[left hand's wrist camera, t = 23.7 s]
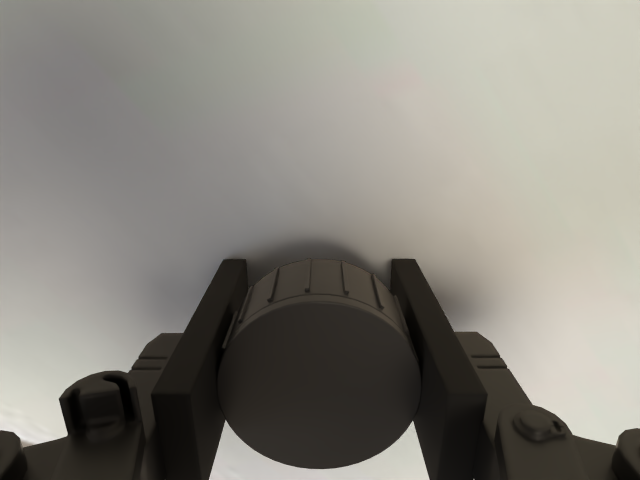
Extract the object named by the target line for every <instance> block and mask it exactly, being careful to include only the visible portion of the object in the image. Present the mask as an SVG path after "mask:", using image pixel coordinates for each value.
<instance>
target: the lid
mask: <svg viewBox="0 0 640 480" xmlns="http://www.w3.org/2000/svg"><path fill="white" fill-rule="evenodd" d="M221 351H223V355H222V358H221V361H220V364H219V368H218V372H217V393H218V400H219V405H220V408H221V410H222V413H223V415H224V417H225V419H226V421H227V422H228V424H229V426H230V427H231V428H232V430H233V431H234V432H235V433H236V435H237V436H238V437H239V438H240V439H241V440H242V441H243V442H244V443H246V444H247V445H248V446H250V447H251V448H252V449H254V450H255V451H257V452H259V453H260V454H262V455H264V456H266V457H268V458H270V459H272V460H274V461H277V462H280V463H283V464H286V465H291V466H295V467H300V468H308V469H330V468H339V467H344V466H349V465H353V464H356V463H359V462H362V461H364V460H367V459H369V458H371V457H373V456H375V455H377V454H379V453H381V452H382V451H384V450H385V449H387V448H388V447H390V446H391V445H392V444H393V443H394V442H395V441H397V440H398V439H399V438H400V437H401V435H402V434H403V433H404V432H405V431H406V430H407V428H408V427H409V425H410V424H411V422H412V421H413V418H414V416H415V414H416V412H417V410H418V406H419V403H420V399H421V390H422V376H421V371H420V366H419V363H418V361H419V360H418V357H417V355H416V352H415V349H414V346H413V343H412V341H411V338H410V335H409V330H408V327H407V324H406V321H405V318H404V315H403V313H402V310H401V307H400V304H399V301H398V298H397V296H396V295H395V296H393V295H392V294H391V292H390V291H389V290H388V288H387V287H386V286H385V285H384V284H383V283H382V282H381V281H380V280H378V279H377V278H376V275H375V274H370V273H368V272H367V271H365V270H363V269H361V268H359V267H357V266H354V265H352V264H348V263H346V262H345V261H343V260H342V261H336V260H329V259H311V258H308V259H307V260H303V261H298V262H293V263H290V264H288V265H285V266H282V267H280V268H278V267H276V268H274V271H272V272H270V273H269V274H268V275H266V276H265V277H263V278H262V279H261V280H260V281H258V282H257V283H256V284H255V285H254V286H250V287H249V290H248V292H247V295H246V297H245V298H244V300H243V302H242V304H241V306H240V308H239V311H235V313H234V316H233V319H232V321H231V324H230V327H229V329H228V332H227V335H226V337H225V340H224V343H223V345H222V348H221Z"/></svg>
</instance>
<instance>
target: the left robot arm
mask: <svg viewBox="0 0 640 480" xmlns="http://www.w3.org/2000/svg"><path fill="white" fill-rule="evenodd" d="M247 292H248V282H247V267H246V259H223V261H222V263H221V265H220V267H219V268H218V270H217V272H216V274H215V276H214V278H213V280H212V281H211V283H210V285H209V287H208V289H207V291H206V293H205V294H204V296H203V298H202V300H201V302H200V304H199V305H198V307H197V309H196V311H195V313H194V315H193V317H192V318H191V320H190V322H189V324H188V326H187V328H186V329H185V331H184V333H161V334H160V335H159V336H157V337H156V338H155V339H153V340H152V341H151V342H149V343H148V344H147V345H146V346H145V348H144V349H143V351H142V353H141V354H140V356H139V359H137V360H136V362H135V363H134V365H133V366H132V369H131V370H130V371H129V372H128V373H126V372H122V371H104V372H100V373H96V374H92V375H89V376H87V377H85V378H83V379H80V380H78V381H76V382H75V383H74V384H72V385H71V386H70V387H68V388H67V389H66V390H65V391H64V393H63V394H62V395H61V397H60V398H59V402H60V405H61V409H62V413H63V417H64V421H65V424H66V428H67V432H68V436H67V437H64V438H60V439H57V440H53V441H49V442H45V443H41V444H36V445H32V446H28V447H24V448H23V447H22V444H21V440H20V438H19V437H18V436H17V435H16V434H15V433H14V432H9V431H2V430H1V431H0V480H209V477H210V473H211V470H212V466H213V463H214V459H215V455H216V452H217V448H218V445H219V441H220V438H221V434H222V430H223V427H224V423H225V420H226V419H225V417H224V415H223V413H222V410H221V408H220V405H219V400H218V393H217V372H218V368H219V364H220V361H221V358H222V355H223V351H221V348H222V345H223V343H224V340H225V337H226V335H227V332H228V329H229V327H230V324H231V321H232V319H233V316H234V313H235V311H239V308H240V306H241V304H242V302H243V300H244V298H245V297H246V295H247ZM390 292H391V294H392V295H393V296H395V295H396V296H397V298H398V301H399V304H400V307H401V310H402V313H403V315H404V318H405V321H406V324H407V327H408V330H409V335H410V338H411V341H412V343H413V346H414V349H415V352H416V355H417V357H418V360H419V361H418V363H419V366H420V371H421V376H422V390H421V399H420V403H419V406H418V410H417V412H416V414H415V416H414V418H413V422H414V425H415V429H416V432H417V436H418V439H419V443H420V447H421V450H422V454H423V457H424V461H425V464H426V468H427V471H428V475H429V479H430V480H640V429H638V428H636V429H630V430H625V431H624V432H623V433H622V434H621V435H619V437H618V441H617V444H616V446H615V445H611V444H606V443H602V442H598V441H593V440H589V439H585V438H581V437H578V436H575V435H572V433H571V431H570V430H569V428H568V426H567V425H566V423H564V422H563V421H562V420H561V419H560V418H559V417H557V416H556V415H555V414H553V413H551V412H549V411H547V410H545V409H544V408H542V407H538V406H534V405H532V403H531V402H530V400H529V399H528V397H527V396H526V394H525V393H524V391H523V389H522V388H521V386H520V385H519V383H518V382H517V380H516V379H515V377H514V376H513V374H512V373H511V371H510V370H509V369H507V365H506V364H505V362H504V361H503V359H502V358H500V355H499V353H498V352H497V350H496V349H495V347H494V346H493V344H492V343H491V342H490V341H489V340H487V339H486V338H484V337H483V336H482V335H480V334H479V333H478V332H454V331H453V329H452V327H451V325H450V323H449V321H448V320H447V318H446V316H445V314H444V312H443V310H442V308H441V307H440V305H439V303H438V301H437V299H436V297H435V296H434V294H433V292H432V290H431V288H430V286H429V284H428V283H427V281H426V279H425V277H424V275H423V273H422V271H421V270H420V268H419V266H418V264H417V262H416V260H415V259H406V260H392V273H391V289H390Z"/></svg>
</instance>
